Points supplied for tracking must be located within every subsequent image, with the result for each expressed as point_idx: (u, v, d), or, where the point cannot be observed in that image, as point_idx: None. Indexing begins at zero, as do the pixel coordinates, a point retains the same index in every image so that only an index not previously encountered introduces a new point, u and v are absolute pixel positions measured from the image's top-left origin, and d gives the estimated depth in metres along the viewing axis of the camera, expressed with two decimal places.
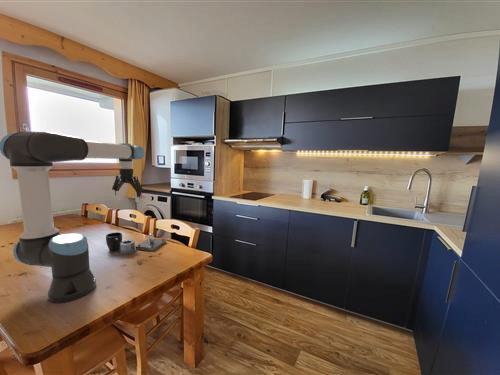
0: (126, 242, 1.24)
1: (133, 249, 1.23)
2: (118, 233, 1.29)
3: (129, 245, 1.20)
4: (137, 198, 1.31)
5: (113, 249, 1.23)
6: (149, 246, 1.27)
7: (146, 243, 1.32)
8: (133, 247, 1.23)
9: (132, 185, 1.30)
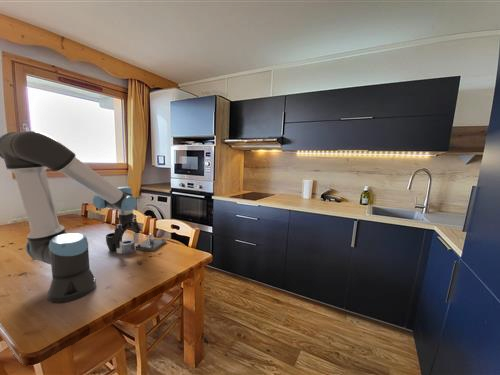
0: (126, 242, 1.24)
1: (133, 249, 1.23)
2: None
3: (129, 245, 1.20)
4: (117, 249, 1.16)
5: (113, 249, 1.23)
6: (149, 246, 1.27)
7: (146, 243, 1.32)
8: (133, 247, 1.23)
9: None
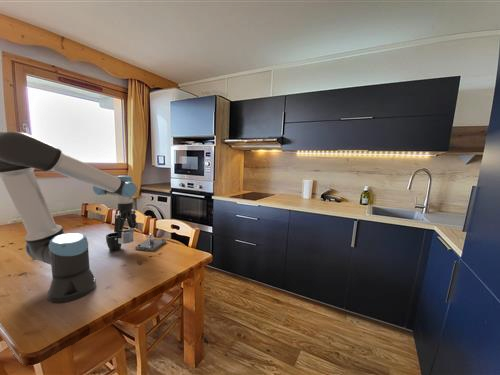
0: (125, 231, 1.23)
1: (131, 238, 1.21)
2: None
3: (128, 234, 1.19)
4: (119, 239, 1.17)
5: (113, 249, 1.23)
6: (149, 246, 1.27)
7: (146, 243, 1.32)
8: (132, 236, 1.21)
9: None
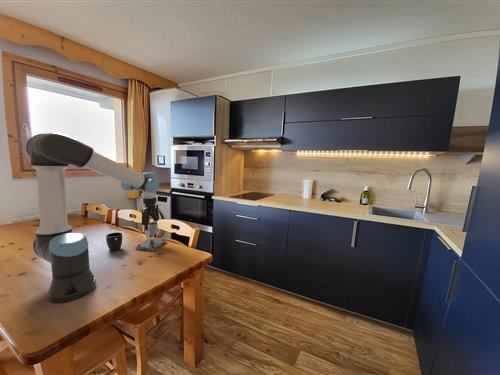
0: (149, 224, 1.33)
1: (156, 230, 1.32)
2: (119, 233, 1.28)
3: (153, 226, 1.29)
4: (145, 231, 1.28)
5: (113, 249, 1.23)
6: (149, 246, 1.27)
7: (146, 243, 1.32)
8: (156, 228, 1.31)
9: None
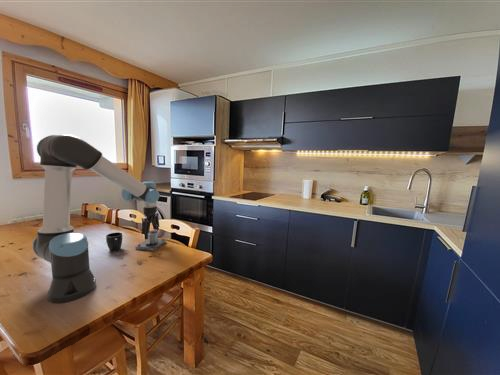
0: (150, 232, 1.34)
1: (156, 239, 1.32)
2: (119, 233, 1.28)
3: (153, 235, 1.29)
4: (146, 240, 1.28)
5: (113, 249, 1.23)
6: (149, 246, 1.27)
7: None
8: (156, 237, 1.32)
9: None
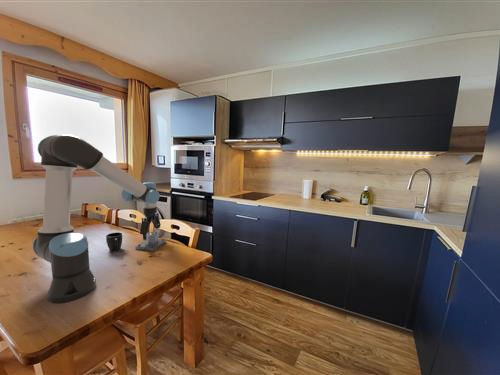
0: (149, 234, 1.34)
1: (156, 240, 1.32)
2: (119, 233, 1.28)
3: (153, 236, 1.29)
4: (144, 240, 1.27)
5: (113, 249, 1.23)
6: (149, 246, 1.27)
7: None
8: (156, 238, 1.32)
9: None
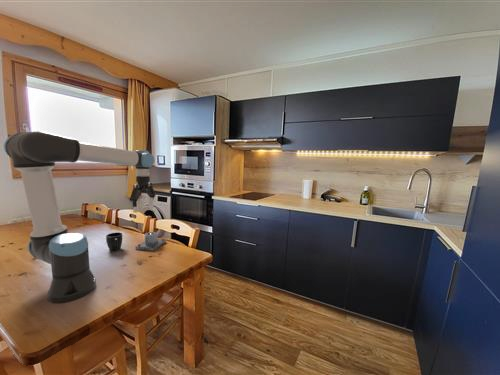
0: (149, 234, 1.34)
1: (156, 240, 1.32)
2: (119, 233, 1.28)
3: (153, 236, 1.29)
4: (134, 208, 1.22)
5: (113, 249, 1.23)
6: (149, 246, 1.27)
7: None
8: (156, 238, 1.32)
9: None
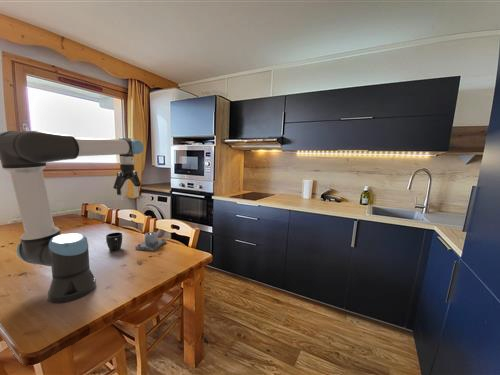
0: (149, 234, 1.34)
1: (156, 240, 1.32)
2: (119, 233, 1.28)
3: (153, 236, 1.29)
4: (118, 196, 1.22)
5: (113, 249, 1.23)
6: (149, 246, 1.27)
7: None
8: (156, 238, 1.32)
9: None
